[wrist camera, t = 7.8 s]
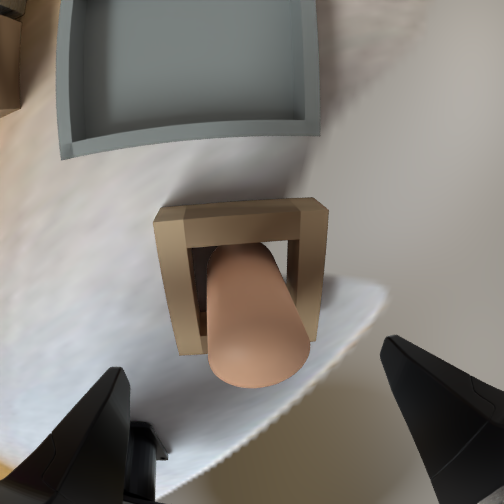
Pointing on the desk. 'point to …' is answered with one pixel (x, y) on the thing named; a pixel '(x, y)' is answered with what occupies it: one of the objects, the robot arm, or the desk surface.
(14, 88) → the tan rectangular block
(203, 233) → the collar
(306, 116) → the tray
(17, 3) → the bar
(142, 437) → the robot arm
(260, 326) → the dowel
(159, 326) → the desk surface
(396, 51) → the desk surface
